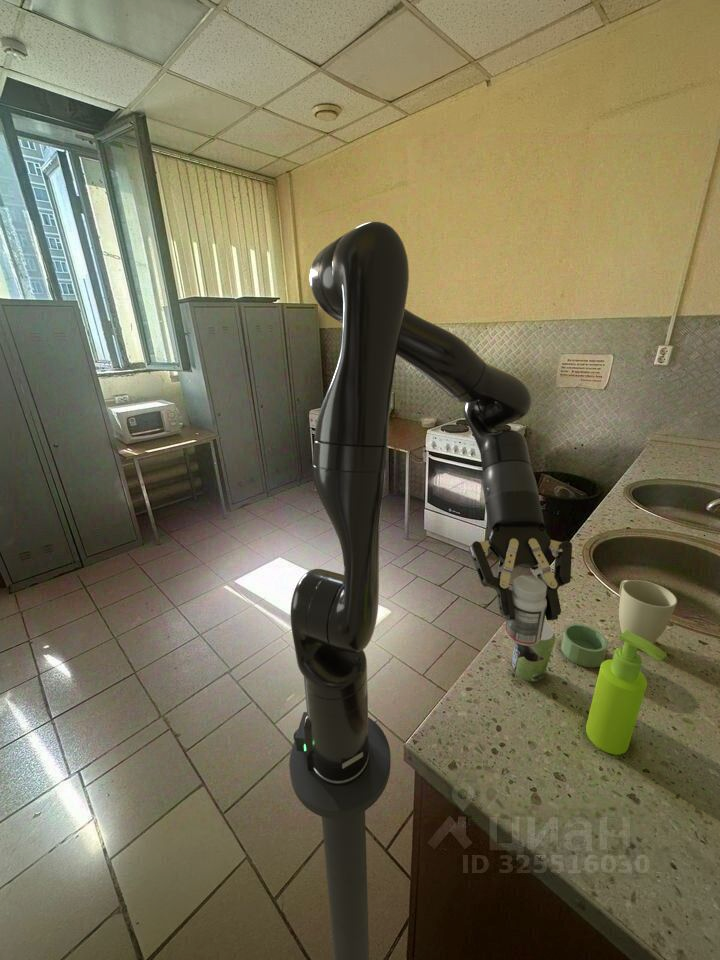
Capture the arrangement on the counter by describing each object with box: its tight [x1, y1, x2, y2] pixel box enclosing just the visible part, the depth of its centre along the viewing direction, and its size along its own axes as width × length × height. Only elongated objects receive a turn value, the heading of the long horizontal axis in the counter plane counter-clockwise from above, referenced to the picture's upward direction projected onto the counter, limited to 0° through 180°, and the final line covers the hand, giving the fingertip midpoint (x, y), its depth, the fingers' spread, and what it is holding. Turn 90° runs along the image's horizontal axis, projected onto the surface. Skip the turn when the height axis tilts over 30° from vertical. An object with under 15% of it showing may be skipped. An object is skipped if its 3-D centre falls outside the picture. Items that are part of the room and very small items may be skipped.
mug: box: [618, 579, 678, 644], centre depth 82 cm, size 11×10×12 cm
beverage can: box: [510, 620, 556, 682], centre depth 73 cm, size 6×7×12 cm
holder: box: [560, 623, 608, 668], centre depth 79 cm, size 8×8×4 cm
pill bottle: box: [504, 574, 547, 646], centre depth 53 cm, size 5×5×8 cm
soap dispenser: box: [585, 630, 668, 756], centre depth 59 cm, size 6×7×20 cm
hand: (531, 619), depth 51 cm, fingers closed on pill bottle, 4 cm apart
